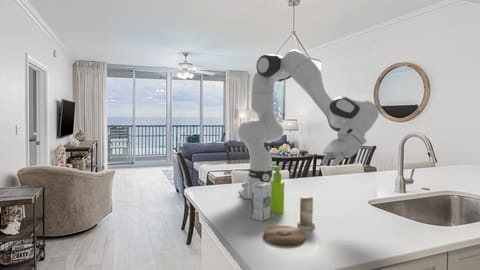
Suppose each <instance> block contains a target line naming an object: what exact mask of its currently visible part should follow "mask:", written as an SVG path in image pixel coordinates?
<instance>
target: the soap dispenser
mask: <svg viewBox="0 0 480 270" xmlns="http://www.w3.org/2000/svg"><path fill="white" fill-rule="evenodd" d="M269 168H270V169H272V170H273V169H275V172H273V179H274V180H273V181H271V213H273V214H282V213H284V212H285V181H284V180H282V173H281V172H280V170H281V169H280V168H282V166H281V165H272V166H270V167H269Z"/></svg>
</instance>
